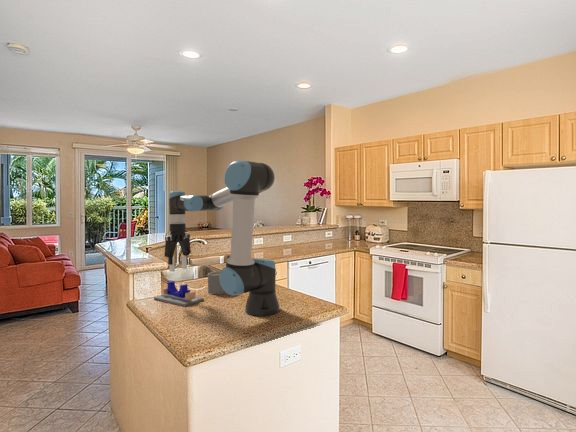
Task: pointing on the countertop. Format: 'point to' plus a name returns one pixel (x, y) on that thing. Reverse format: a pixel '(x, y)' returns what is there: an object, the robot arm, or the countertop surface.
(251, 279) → the robot arm
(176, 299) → the rail mount
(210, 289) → the coffee mug
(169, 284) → the cable clip
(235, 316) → the countertop surface
